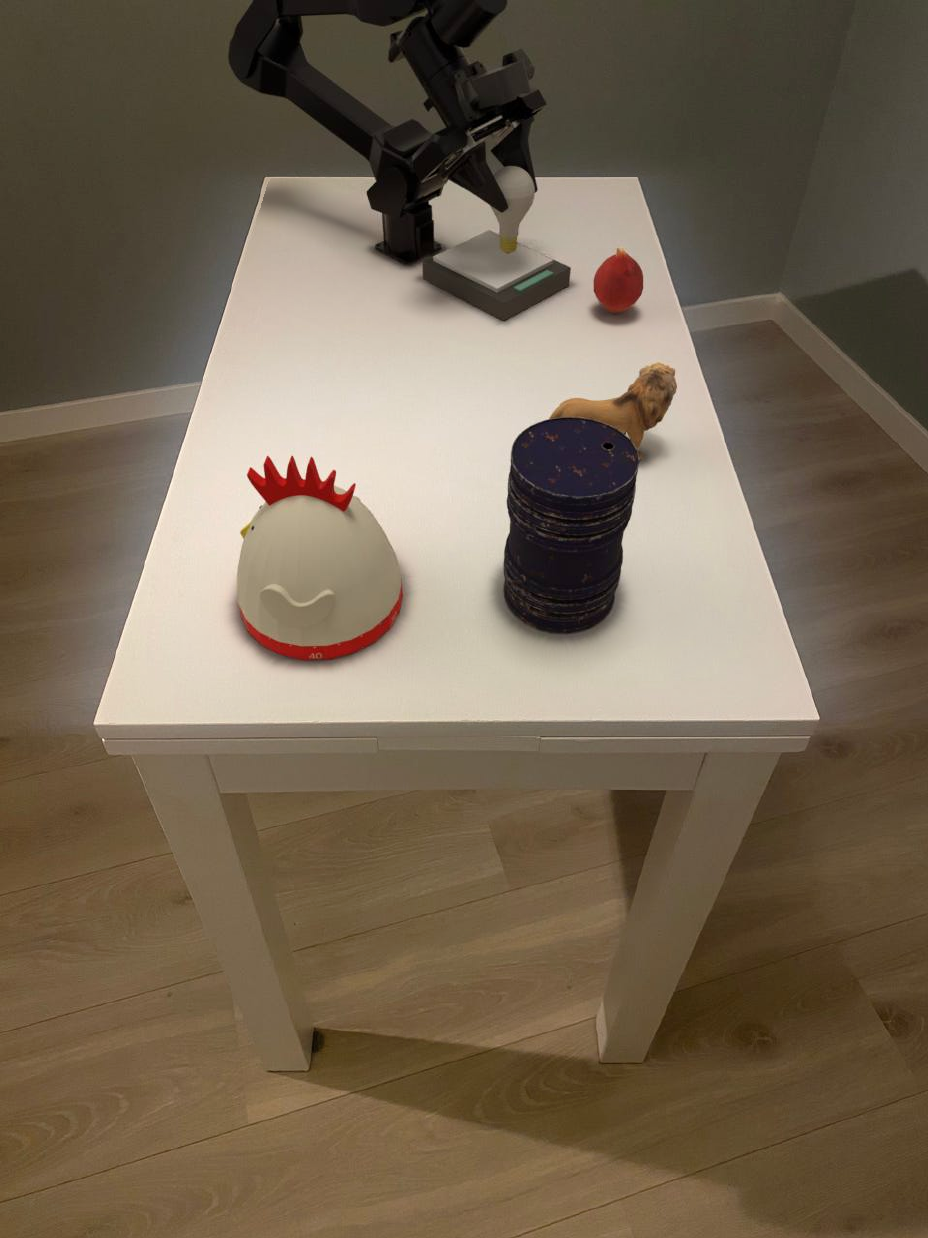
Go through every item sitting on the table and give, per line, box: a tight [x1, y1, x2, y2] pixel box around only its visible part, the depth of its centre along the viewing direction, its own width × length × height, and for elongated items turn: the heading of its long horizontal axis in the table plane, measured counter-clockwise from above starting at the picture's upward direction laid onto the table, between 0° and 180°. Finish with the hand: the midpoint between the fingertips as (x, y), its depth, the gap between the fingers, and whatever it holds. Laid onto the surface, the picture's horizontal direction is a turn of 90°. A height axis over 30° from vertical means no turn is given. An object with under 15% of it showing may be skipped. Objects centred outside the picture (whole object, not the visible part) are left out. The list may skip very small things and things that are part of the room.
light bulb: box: [489, 166, 536, 254], centre depth 109 cm, size 6×5×10 cm
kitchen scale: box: [422, 229, 572, 322], centre depth 116 cm, size 14×12×3 cm
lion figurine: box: [548, 362, 678, 462], centre depth 91 cm, size 15×5×9 cm, turn 110°
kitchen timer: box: [236, 455, 404, 661], centre depth 75 cm, size 14×14×15 cm
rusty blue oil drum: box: [502, 417, 640, 635], centre depth 76 cm, size 10×10×15 cm
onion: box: [593, 247, 644, 314], centre depth 109 cm, size 6×6×8 cm
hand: (520, 201), depth 107 cm, fingers closed on light bulb, 5 cm apart
